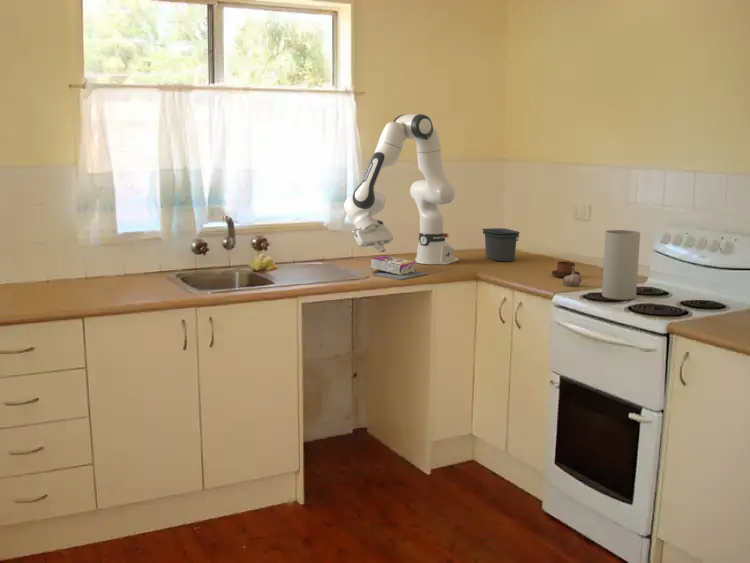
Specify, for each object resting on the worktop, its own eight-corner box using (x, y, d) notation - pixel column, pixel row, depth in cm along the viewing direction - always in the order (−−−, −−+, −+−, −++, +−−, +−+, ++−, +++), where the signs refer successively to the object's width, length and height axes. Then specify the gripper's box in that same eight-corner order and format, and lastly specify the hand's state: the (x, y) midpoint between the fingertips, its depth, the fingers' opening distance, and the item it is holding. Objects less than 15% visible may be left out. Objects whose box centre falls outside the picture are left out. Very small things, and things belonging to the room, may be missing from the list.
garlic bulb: (579, 288, 328) (581, 268, 327) (561, 286, 331) (562, 267, 329) (582, 284, 335) (583, 265, 334) (563, 283, 338) (564, 264, 336)
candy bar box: (385, 254, 367) (415, 261, 357) (384, 265, 368) (414, 272, 358) (370, 257, 358) (401, 264, 348) (369, 268, 359) (400, 275, 350)
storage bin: (478, 256, 408) (479, 228, 406) (507, 255, 412) (508, 227, 410) (495, 263, 388) (496, 233, 386) (525, 261, 392) (526, 232, 389)
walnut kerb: (394, 270, 366) (394, 267, 366) (396, 270, 365) (396, 267, 365) (372, 274, 356) (372, 270, 356) (374, 274, 355) (374, 271, 355)
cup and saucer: (552, 273, 361) (553, 260, 360) (580, 275, 357) (581, 261, 356) (550, 278, 349) (550, 264, 348) (578, 280, 346) (579, 265, 345)
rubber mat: (400, 270, 366) (400, 268, 366) (427, 274, 356) (427, 273, 355) (372, 275, 353) (372, 273, 353) (400, 280, 343) (400, 278, 342)
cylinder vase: (642, 299, 306) (647, 233, 301) (613, 301, 302) (617, 234, 297) (623, 293, 317) (627, 229, 313) (595, 294, 314) (599, 230, 309)
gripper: (354, 224, 355) (370, 249, 350) (385, 221, 370) (401, 244, 365) (347, 233, 359) (363, 258, 354) (378, 230, 374) (394, 253, 369)
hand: (383, 251), depth 360 cm, fingers closed
